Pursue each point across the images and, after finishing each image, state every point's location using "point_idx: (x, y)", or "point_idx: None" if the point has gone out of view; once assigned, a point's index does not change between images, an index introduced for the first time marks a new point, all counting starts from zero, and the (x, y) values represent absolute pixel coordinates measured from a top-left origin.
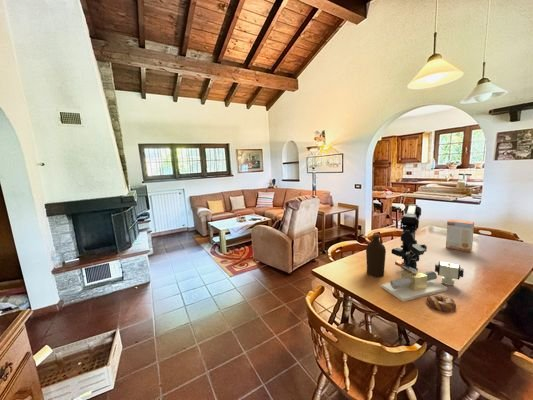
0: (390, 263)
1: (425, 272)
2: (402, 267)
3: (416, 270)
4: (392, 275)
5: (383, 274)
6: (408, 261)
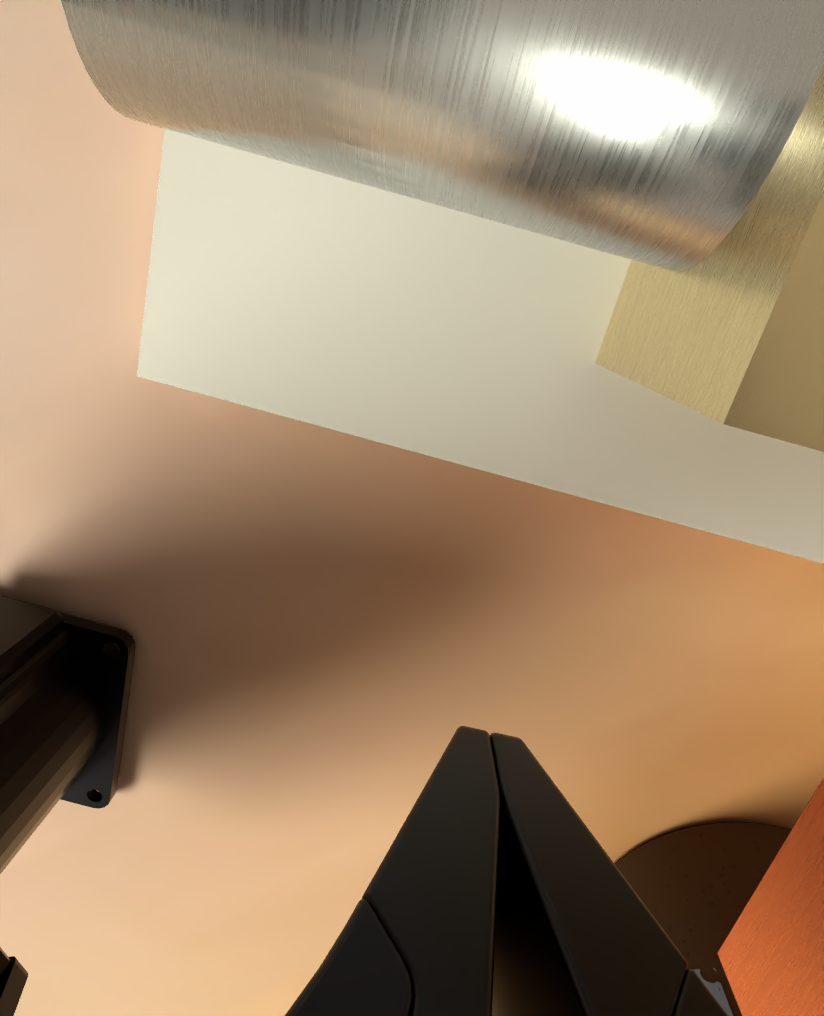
0: (147, 946)
1: (404, 37)
2: (116, 776)
3: (800, 250)
4: (555, 742)
5: (727, 847)
6: (565, 843)
